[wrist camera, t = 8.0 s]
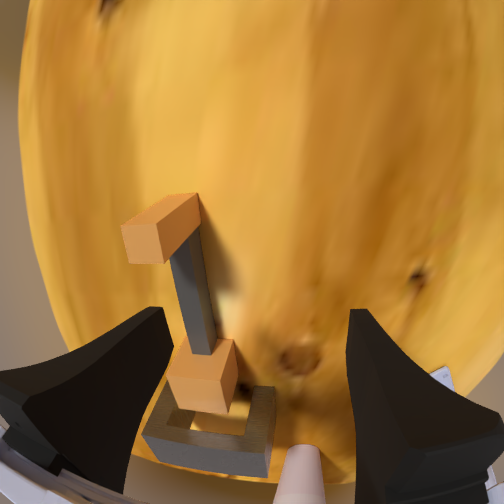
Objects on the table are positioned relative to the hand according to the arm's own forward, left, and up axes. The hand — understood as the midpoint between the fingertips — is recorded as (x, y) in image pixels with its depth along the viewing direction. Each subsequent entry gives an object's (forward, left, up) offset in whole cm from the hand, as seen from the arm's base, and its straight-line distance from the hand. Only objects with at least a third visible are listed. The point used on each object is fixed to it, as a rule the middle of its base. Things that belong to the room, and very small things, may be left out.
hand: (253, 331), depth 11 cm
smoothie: (-24, +11, -9) cm, 28 cm away
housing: (-11, +13, -9) cm, 19 cm away
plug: (-1, +7, -9) cm, 11 cm away
